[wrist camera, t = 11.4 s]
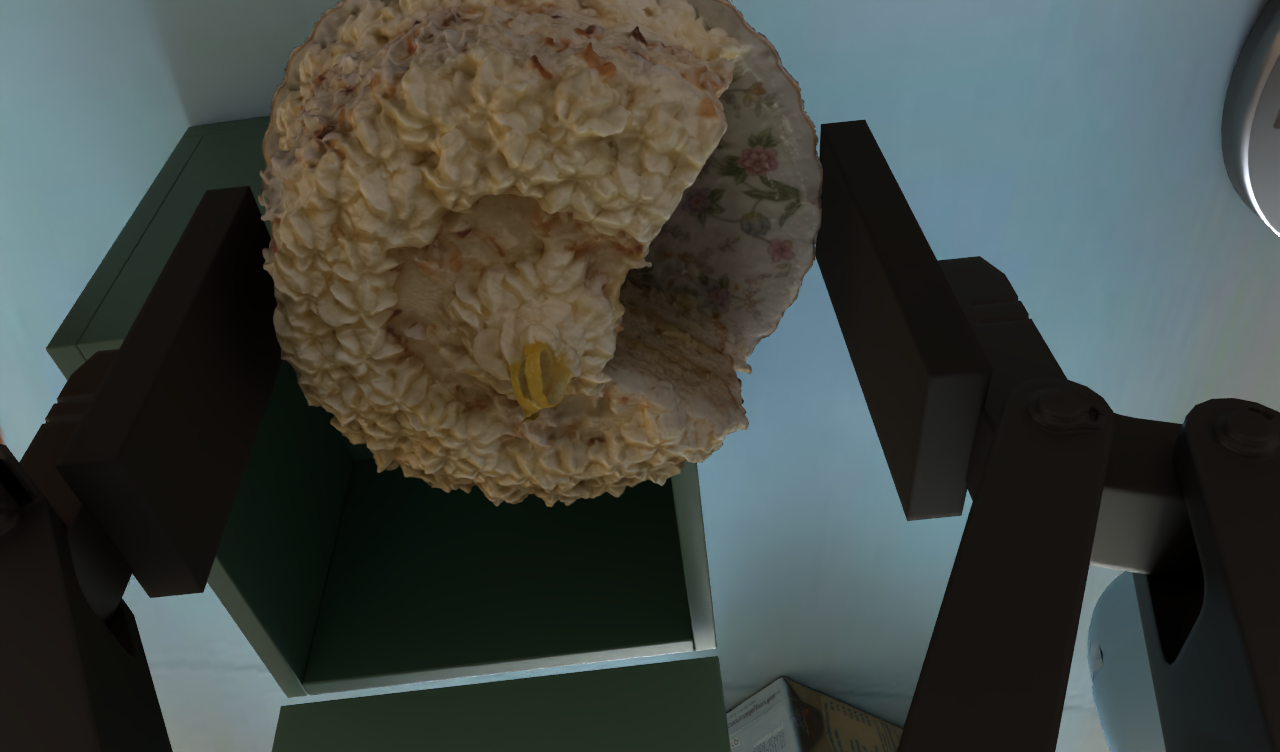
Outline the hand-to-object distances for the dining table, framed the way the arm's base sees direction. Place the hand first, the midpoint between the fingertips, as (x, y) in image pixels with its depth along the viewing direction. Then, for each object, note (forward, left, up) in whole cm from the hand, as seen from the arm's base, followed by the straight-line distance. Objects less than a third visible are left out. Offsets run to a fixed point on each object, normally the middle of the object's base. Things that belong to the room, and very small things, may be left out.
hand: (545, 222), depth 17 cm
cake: (0, 0, 0) cm, 0 cm away
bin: (+11, +8, -16) cm, 21 cm away
